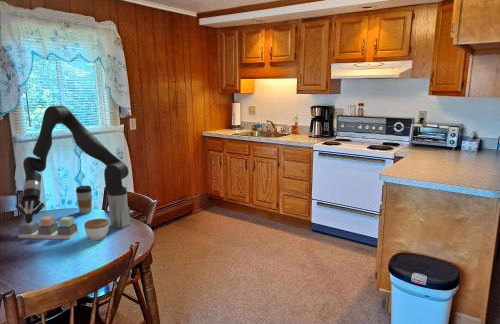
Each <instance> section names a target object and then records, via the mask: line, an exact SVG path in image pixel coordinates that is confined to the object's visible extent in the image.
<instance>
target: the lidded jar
mask: <svg viewBox="0 0 500 324" xmlns="http://www.w3.org/2000/svg"><path fill="white" fill-rule="evenodd" d="M109 227H110V220H109V219H106V218H94V219H89V220H87V221H86V222H84V230H85V234H86V236H87V237H88V238H90V240H91V241H100V240H102V239H104V238H105V237H106V235H107V234H108V232H109Z"/></svg>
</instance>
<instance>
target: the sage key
mask: <svg viewBox="0 0 500 324" xmlns="http://www.w3.org/2000/svg"><path fill="white" fill-rule="evenodd" d="M73 224H75V222H74V216H63V217H61V218H60V219H59V227H70V226H71V225H73Z"/></svg>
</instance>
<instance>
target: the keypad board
mask: <svg viewBox="0 0 500 324" xmlns="http://www.w3.org/2000/svg"><path fill="white" fill-rule="evenodd" d="M17 229H18V234H17V236H18V238H19V239H20V238H22V239H59V240H63V239H65V240H70V239H71V238H73V237H74V236H76V235H77V234H78V233H79V229H78V223H74V224H73V225H71V226H70V227H60V226H59V223H58V222H55V223H54V224H53V225H51V226H50V227H48V226H41V225H40V222H36V224H35V225H33V226H31V227H21V225H20V226H18V228H17Z"/></svg>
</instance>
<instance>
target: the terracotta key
mask: <svg viewBox="0 0 500 324" xmlns="http://www.w3.org/2000/svg"><path fill="white" fill-rule="evenodd" d="M55 220H56V219H55V216H54V215H53V216H50V215H45V216H43V217H41V218H40V219H39V226H48V227H50V226H51V225H53V224H54V223H56V221H55Z"/></svg>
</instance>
